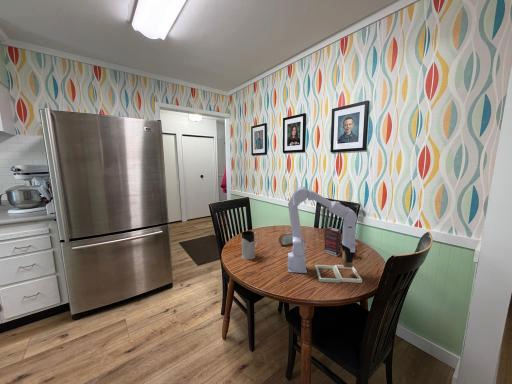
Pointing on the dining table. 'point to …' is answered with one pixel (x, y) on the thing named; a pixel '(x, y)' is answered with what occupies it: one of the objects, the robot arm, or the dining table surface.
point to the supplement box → (332, 241)
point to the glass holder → (248, 244)
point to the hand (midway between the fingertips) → (347, 260)
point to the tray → (348, 278)
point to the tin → (286, 238)
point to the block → (344, 262)
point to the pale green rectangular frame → (327, 278)
